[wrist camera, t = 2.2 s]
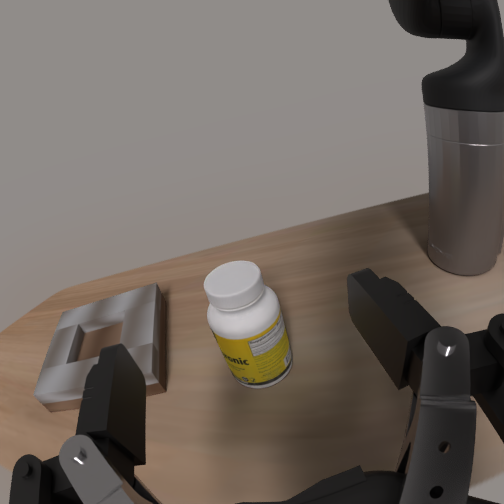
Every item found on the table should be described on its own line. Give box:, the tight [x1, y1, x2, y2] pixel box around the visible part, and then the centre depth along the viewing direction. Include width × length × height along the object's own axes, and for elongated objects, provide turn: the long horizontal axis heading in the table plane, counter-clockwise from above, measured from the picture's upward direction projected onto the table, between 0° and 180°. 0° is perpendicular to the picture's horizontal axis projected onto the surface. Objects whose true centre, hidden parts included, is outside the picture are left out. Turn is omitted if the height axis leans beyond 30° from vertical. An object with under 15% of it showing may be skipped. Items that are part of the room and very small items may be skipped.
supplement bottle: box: [204, 261, 292, 388], centre depth 24 cm, size 5×5×10 cm
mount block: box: [34, 283, 166, 412], centre depth 31 cm, size 14×14×3 cm
